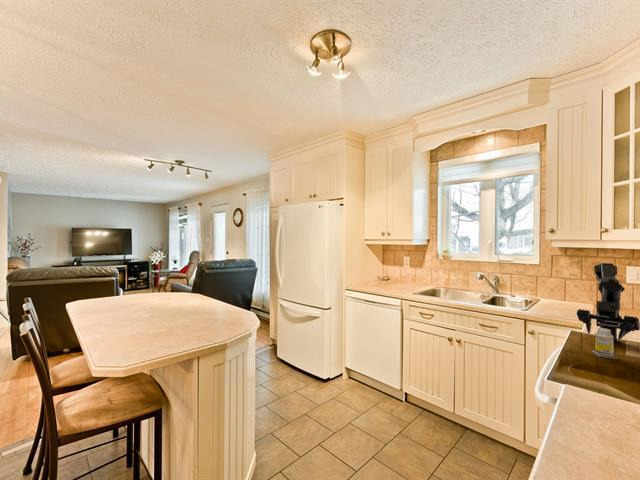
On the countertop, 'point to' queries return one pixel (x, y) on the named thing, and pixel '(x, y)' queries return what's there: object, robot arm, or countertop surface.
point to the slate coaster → (604, 355)
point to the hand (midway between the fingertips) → (603, 336)
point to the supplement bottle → (604, 342)
